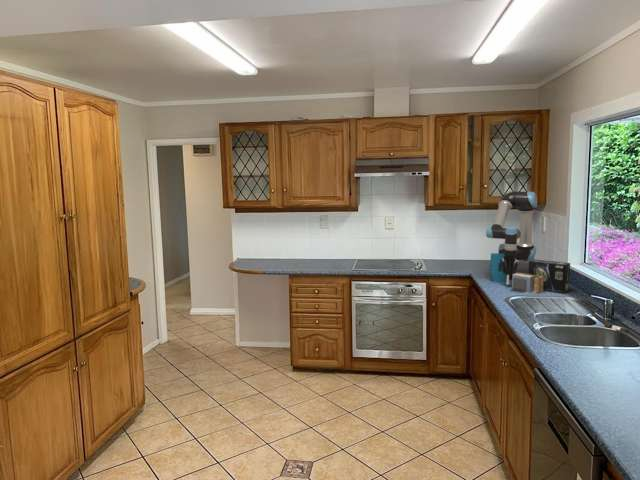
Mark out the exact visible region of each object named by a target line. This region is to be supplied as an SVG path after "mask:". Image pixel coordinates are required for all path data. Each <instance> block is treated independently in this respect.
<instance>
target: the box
mask: <svg viewBox="0 0 640 480" xmlns="http://www.w3.org/2000/svg"><path fill="white" fill-rule="evenodd" d="M570 270H571V262H564V261H563V262H562V261H552V260H545V259H544V260H543V259H534V260H531V261H528V273H527V274H530V275H537V276H543V277H544V284H543V292H549V293H558V294H566V293H569V291H570V275H571V274H570V273H571V271H570Z"/></svg>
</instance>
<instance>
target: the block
mask: <svg viewBox="0 0 640 480" xmlns="http://www.w3.org/2000/svg"><path fill="white" fill-rule="evenodd" d="M503 257H504V253H499V252H498V253H497V252H496V253H494V252H493V253H490V266H489V267H490V268H489V269H490V270H489V273H490V277H491V282H493V283H506V282H507V279H506V274H504V273H503V270H502V264H501V271H499V272H498V268H499V263H500V262H501V261H500V259H503ZM505 266H506V262H505Z"/></svg>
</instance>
